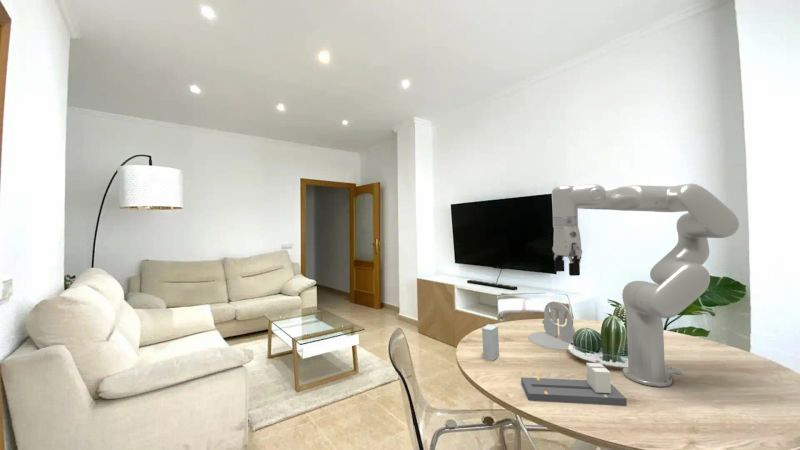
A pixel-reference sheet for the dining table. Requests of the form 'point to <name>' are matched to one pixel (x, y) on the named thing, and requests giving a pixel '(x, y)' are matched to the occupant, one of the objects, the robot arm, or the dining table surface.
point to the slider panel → (569, 392)
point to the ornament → (555, 328)
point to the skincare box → (490, 342)
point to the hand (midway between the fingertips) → (566, 273)
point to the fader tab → (598, 377)
